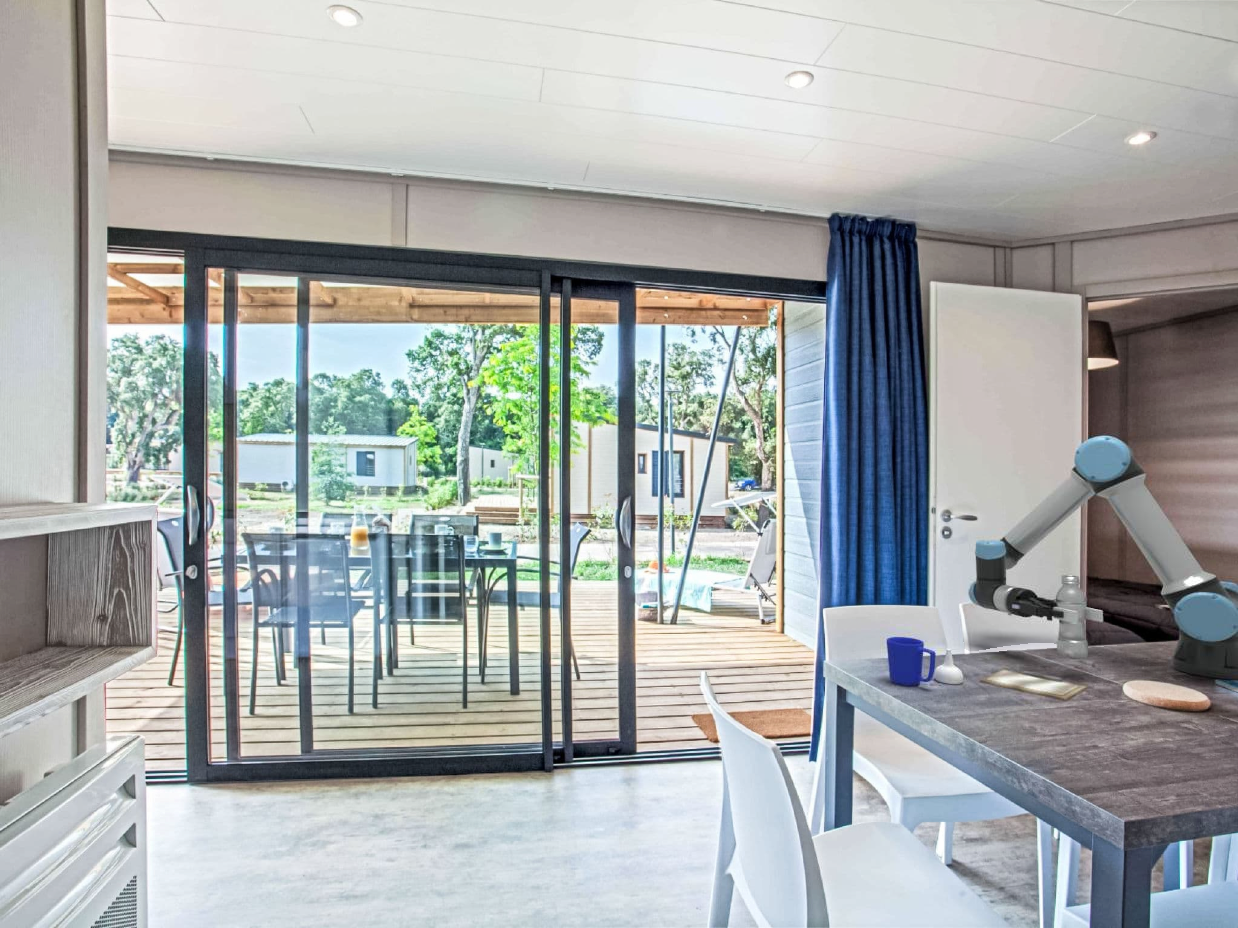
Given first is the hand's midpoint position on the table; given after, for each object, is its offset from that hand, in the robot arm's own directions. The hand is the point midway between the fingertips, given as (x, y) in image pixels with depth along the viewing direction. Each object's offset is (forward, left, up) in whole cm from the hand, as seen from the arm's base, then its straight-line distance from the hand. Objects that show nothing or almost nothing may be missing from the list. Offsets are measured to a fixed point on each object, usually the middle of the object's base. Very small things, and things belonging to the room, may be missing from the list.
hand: (1088, 616), depth 161 cm
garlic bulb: (+22, +24, -16) cm, 36 cm away
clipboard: (+8, +11, -16) cm, 21 cm away
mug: (+26, +33, -16) cm, 46 cm away
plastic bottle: (+4, -3, -11) cm, 12 cm away
